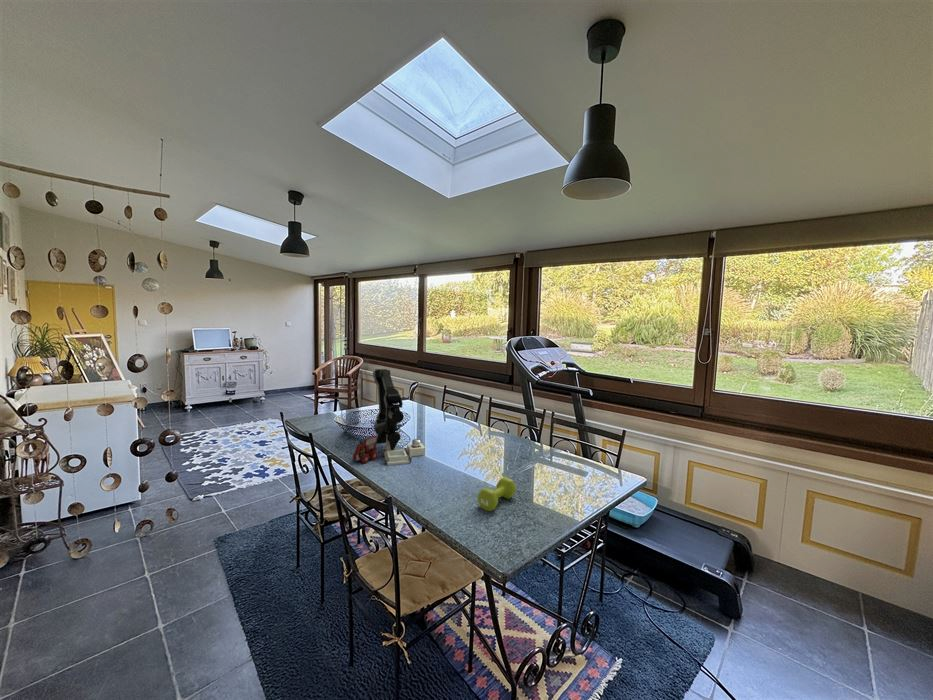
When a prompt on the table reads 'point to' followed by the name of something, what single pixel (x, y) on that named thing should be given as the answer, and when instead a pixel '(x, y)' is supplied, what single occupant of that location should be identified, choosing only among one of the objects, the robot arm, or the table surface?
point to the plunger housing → (416, 450)
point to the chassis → (396, 457)
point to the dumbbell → (496, 494)
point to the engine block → (388, 445)
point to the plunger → (415, 443)
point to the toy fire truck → (366, 450)
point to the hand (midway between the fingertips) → (390, 448)
